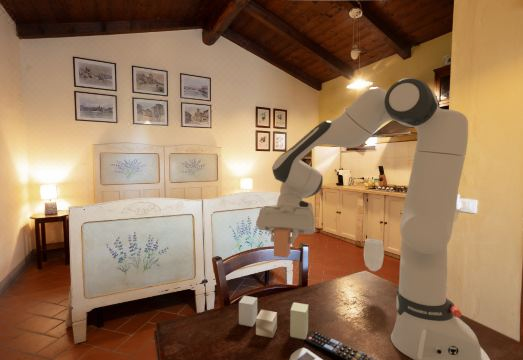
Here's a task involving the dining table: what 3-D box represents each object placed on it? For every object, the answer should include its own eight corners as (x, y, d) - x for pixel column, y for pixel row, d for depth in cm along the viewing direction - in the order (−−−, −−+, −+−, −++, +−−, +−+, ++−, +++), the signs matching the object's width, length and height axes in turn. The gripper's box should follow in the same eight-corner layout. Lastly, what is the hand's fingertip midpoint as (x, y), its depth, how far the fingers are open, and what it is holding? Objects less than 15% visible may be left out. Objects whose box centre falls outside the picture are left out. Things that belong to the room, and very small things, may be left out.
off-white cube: (276, 328, 83) (276, 312, 83) (272, 338, 78) (272, 321, 78) (261, 325, 84) (261, 309, 84) (255, 334, 80) (255, 318, 79)
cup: (384, 293, 105) (386, 240, 104) (379, 300, 100) (381, 244, 98) (365, 287, 110) (367, 237, 108) (359, 294, 104) (361, 241, 103)
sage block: (308, 330, 82) (308, 304, 81) (305, 339, 77) (306, 312, 77) (293, 327, 83) (293, 302, 83) (290, 336, 79) (290, 309, 78)
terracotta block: (290, 253, 91) (290, 229, 91) (287, 257, 87) (287, 233, 87) (277, 251, 93) (277, 228, 92) (273, 256, 88) (274, 231, 88)
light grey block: (257, 318, 88) (257, 297, 87) (252, 326, 83) (252, 304, 83) (244, 316, 89) (244, 295, 89) (238, 324, 85) (238, 302, 84)
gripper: (259, 201, 99) (249, 234, 90) (316, 204, 92) (312, 240, 84) (262, 211, 103) (254, 243, 94) (317, 214, 97) (313, 249, 88)
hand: (281, 242), depth 89 cm, fingers closed on terracotta block, 4 cm apart
